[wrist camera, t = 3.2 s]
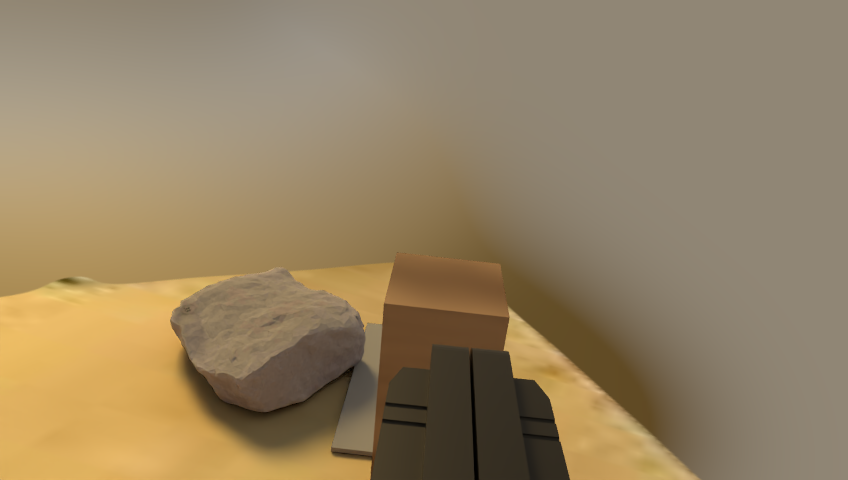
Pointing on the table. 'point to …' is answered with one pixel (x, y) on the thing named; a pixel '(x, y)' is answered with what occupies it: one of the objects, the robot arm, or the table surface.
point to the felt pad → (361, 400)
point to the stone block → (268, 338)
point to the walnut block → (437, 315)
